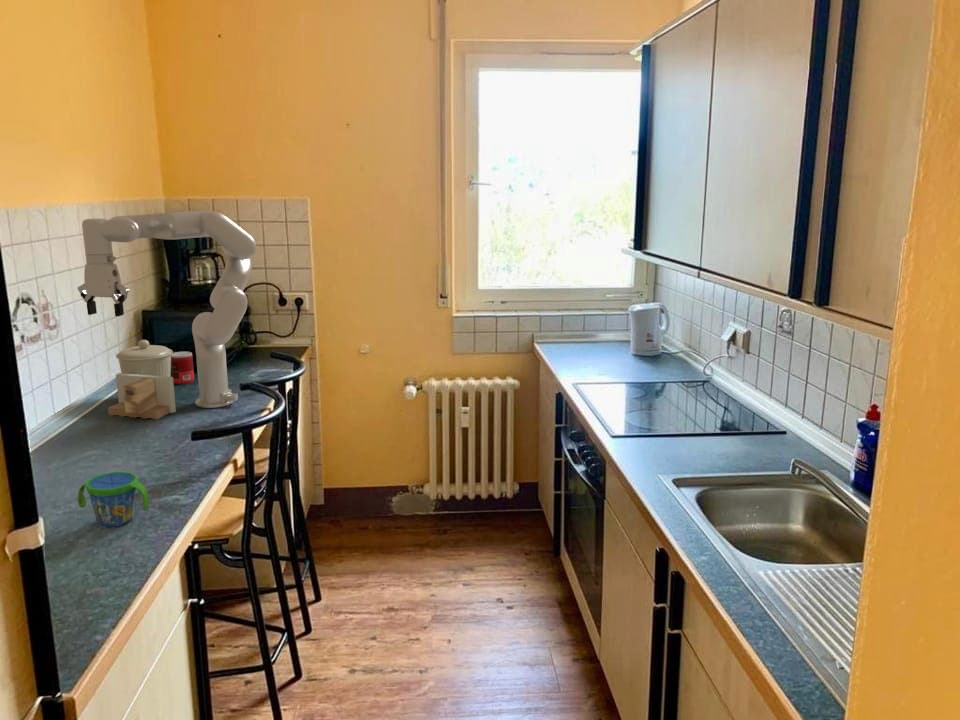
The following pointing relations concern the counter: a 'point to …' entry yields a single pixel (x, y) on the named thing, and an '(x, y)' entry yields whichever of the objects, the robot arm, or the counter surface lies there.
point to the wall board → (163, 396)
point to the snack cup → (113, 497)
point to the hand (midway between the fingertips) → (105, 314)
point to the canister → (146, 360)
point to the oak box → (139, 395)
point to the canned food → (182, 367)
